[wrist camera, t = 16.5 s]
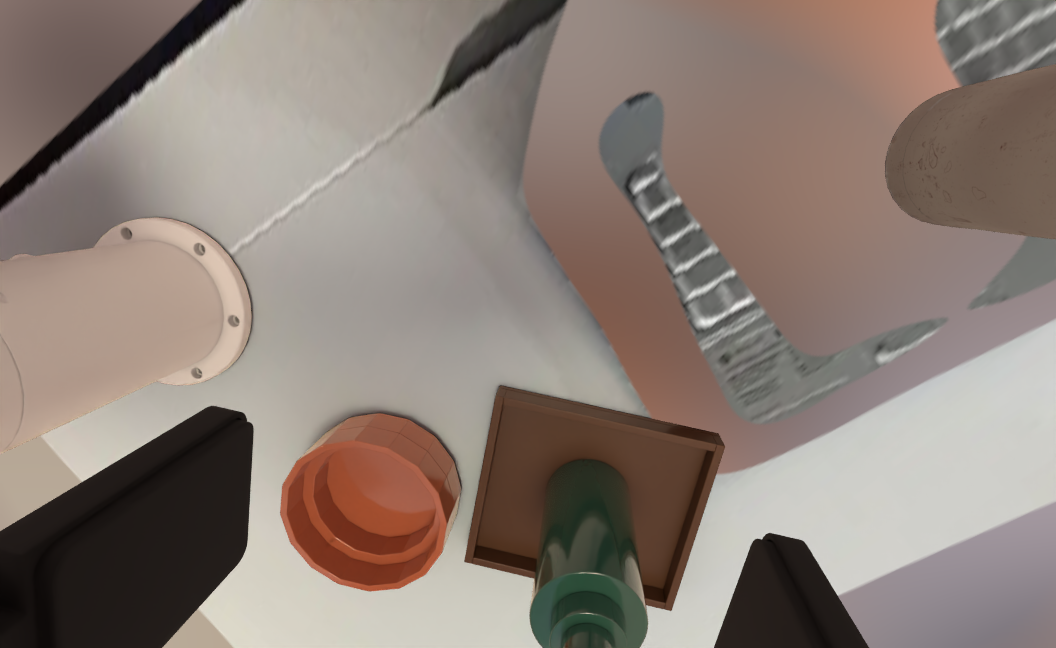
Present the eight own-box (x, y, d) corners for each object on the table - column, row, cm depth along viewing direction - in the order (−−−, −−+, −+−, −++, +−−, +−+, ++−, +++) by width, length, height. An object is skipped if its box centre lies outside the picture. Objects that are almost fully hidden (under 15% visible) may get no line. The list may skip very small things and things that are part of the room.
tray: (469, 545, 43) (464, 562, 41) (500, 385, 40) (495, 395, 38) (667, 592, 43) (671, 611, 41) (718, 433, 39) (725, 446, 37)
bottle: (537, 522, 42) (506, 743, 25) (554, 450, 40) (532, 637, 24) (619, 541, 41) (641, 777, 25) (639, 469, 40) (677, 672, 23)
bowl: (309, 527, 45) (275, 569, 40) (321, 396, 41) (286, 424, 36) (449, 560, 44) (432, 607, 39) (472, 430, 41) (457, 463, 36)
